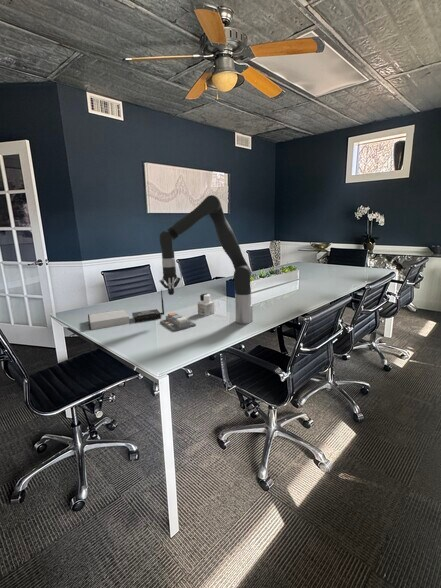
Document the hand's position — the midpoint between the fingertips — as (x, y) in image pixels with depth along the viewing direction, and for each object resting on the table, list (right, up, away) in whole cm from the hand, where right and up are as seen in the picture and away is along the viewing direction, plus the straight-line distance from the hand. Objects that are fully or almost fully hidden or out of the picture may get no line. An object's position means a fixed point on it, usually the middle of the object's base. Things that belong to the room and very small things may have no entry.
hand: (171, 294), depth 175 cm
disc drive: (-40, -18, +8) cm, 45 cm away
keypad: (+4, -18, -1) cm, 18 cm away
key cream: (+7, -16, -6) cm, 18 cm away
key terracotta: (0, -14, +3) cm, 14 cm away
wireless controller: (-16, -15, +13) cm, 26 cm away
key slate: (+4, -15, -2) cm, 15 cm away
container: (+20, -13, +18) cm, 30 cm away
